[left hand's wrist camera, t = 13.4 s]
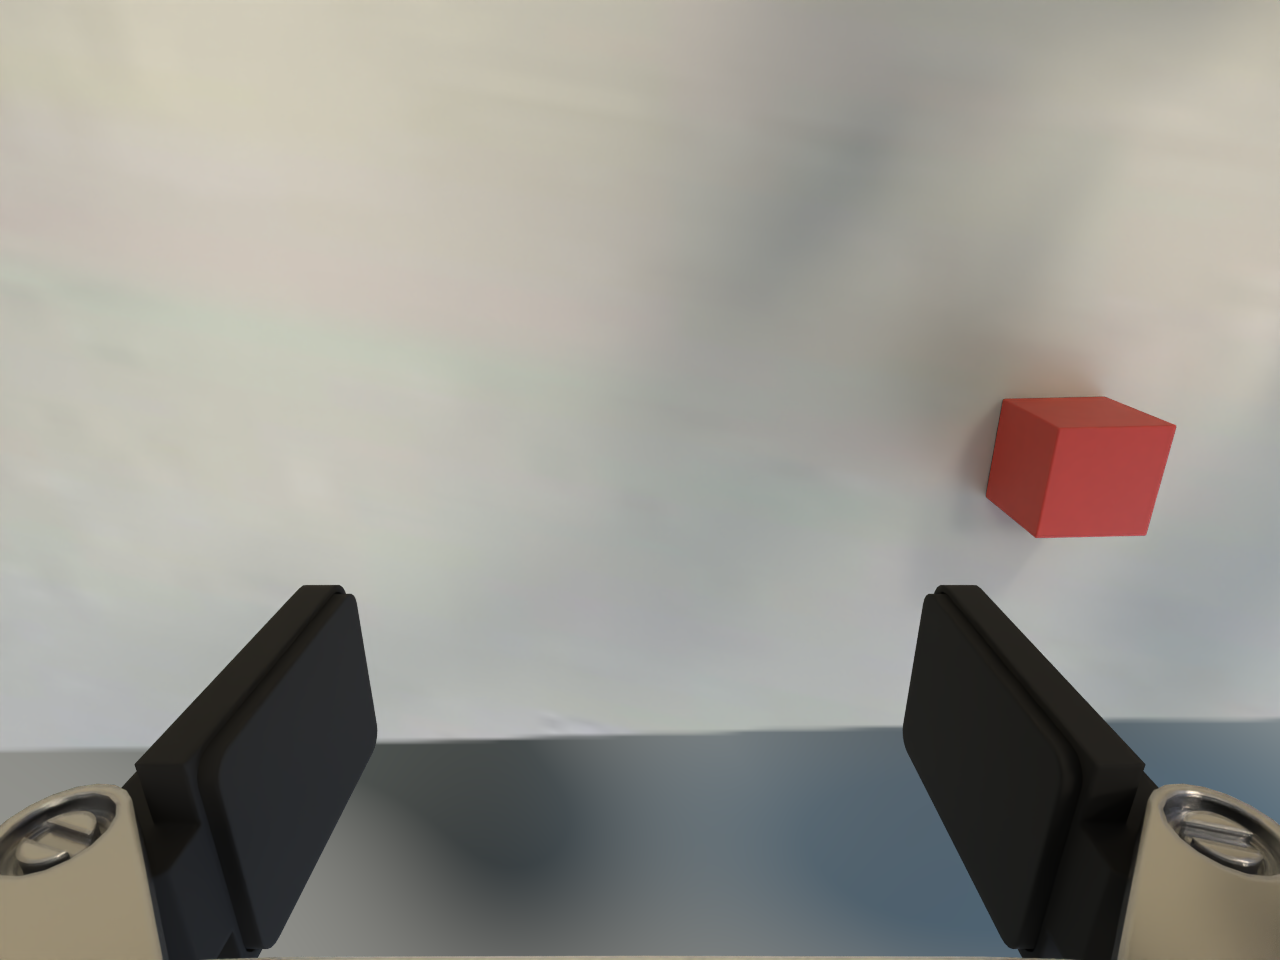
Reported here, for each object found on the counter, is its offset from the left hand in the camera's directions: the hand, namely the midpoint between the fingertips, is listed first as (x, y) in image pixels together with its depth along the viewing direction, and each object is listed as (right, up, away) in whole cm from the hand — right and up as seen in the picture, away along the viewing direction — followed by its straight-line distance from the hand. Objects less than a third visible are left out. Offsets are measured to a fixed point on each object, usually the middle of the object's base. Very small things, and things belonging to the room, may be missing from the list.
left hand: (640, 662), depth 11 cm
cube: (+18, +4, +19) cm, 26 cm away
